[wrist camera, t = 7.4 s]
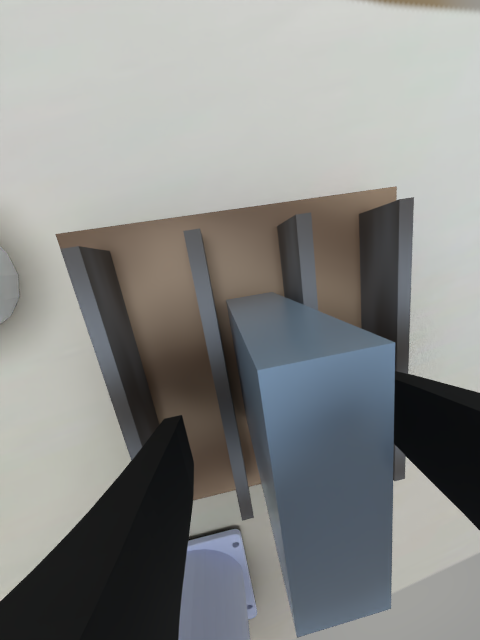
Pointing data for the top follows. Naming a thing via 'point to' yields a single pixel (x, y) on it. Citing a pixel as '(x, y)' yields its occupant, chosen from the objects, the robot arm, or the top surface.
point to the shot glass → (7, 286)
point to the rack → (212, 314)
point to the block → (321, 453)
